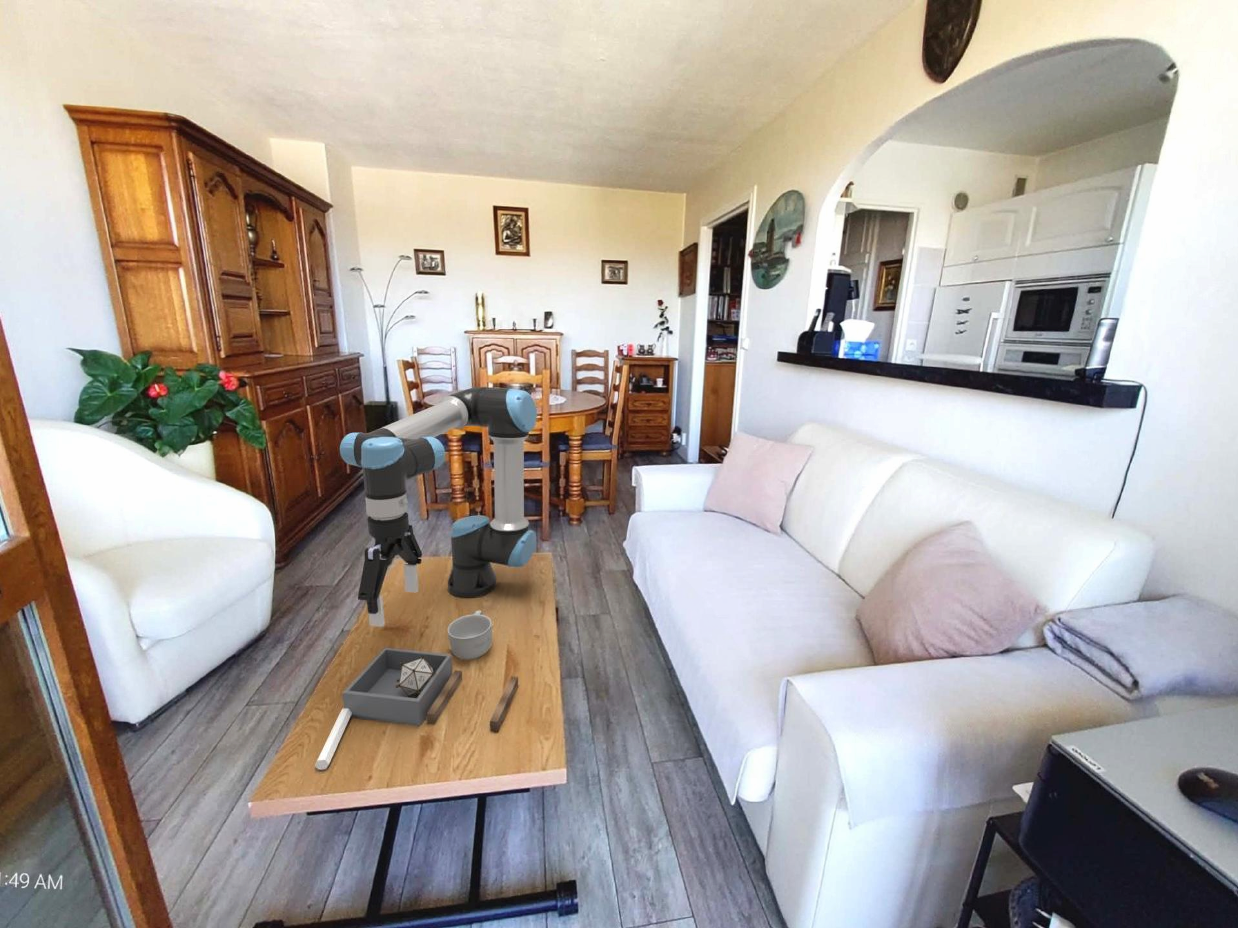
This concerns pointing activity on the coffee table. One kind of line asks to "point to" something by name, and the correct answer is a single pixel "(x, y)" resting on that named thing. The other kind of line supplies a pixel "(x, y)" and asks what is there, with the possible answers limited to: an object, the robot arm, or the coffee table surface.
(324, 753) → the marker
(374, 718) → the bin
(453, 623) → the teacup
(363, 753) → the coffee table surface
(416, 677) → the game die
